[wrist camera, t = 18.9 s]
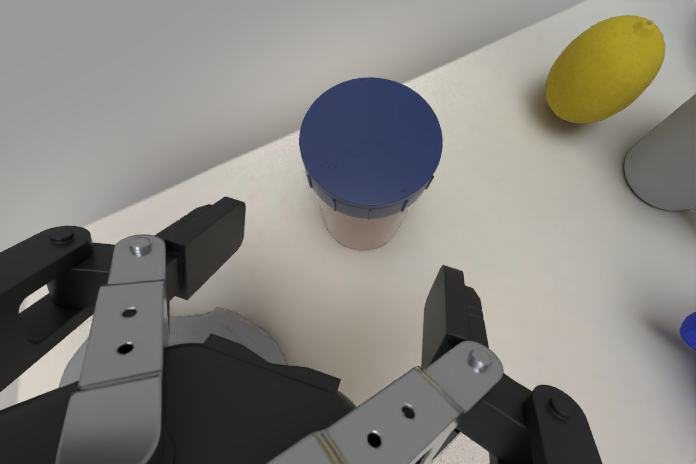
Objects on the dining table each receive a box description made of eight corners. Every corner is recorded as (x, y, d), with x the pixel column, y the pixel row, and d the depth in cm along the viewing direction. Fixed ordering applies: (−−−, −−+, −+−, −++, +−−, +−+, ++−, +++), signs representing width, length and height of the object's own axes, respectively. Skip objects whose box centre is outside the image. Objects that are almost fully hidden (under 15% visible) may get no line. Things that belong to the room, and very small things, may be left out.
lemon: (612, 123, 26) (724, 38, 18) (555, 155, 25) (645, 81, 18) (566, 70, 27) (652, -30, 19) (511, 100, 26) (577, 8, 19)
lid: (411, 92, 17) (418, 64, 15) (449, 201, 16) (462, 185, 14) (293, 118, 17) (286, 93, 15) (320, 233, 15) (316, 220, 13)
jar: (389, 169, 25) (412, 78, 16) (411, 239, 24) (450, 185, 14) (315, 186, 25) (295, 104, 15) (333, 259, 23) (322, 216, 14)
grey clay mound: (266, 283, 25) (278, 241, 16) (300, 456, 22) (341, 535, 13) (76, 323, 21) (-65, 300, 12) (86, 540, 18) (-92, 749, 9)
